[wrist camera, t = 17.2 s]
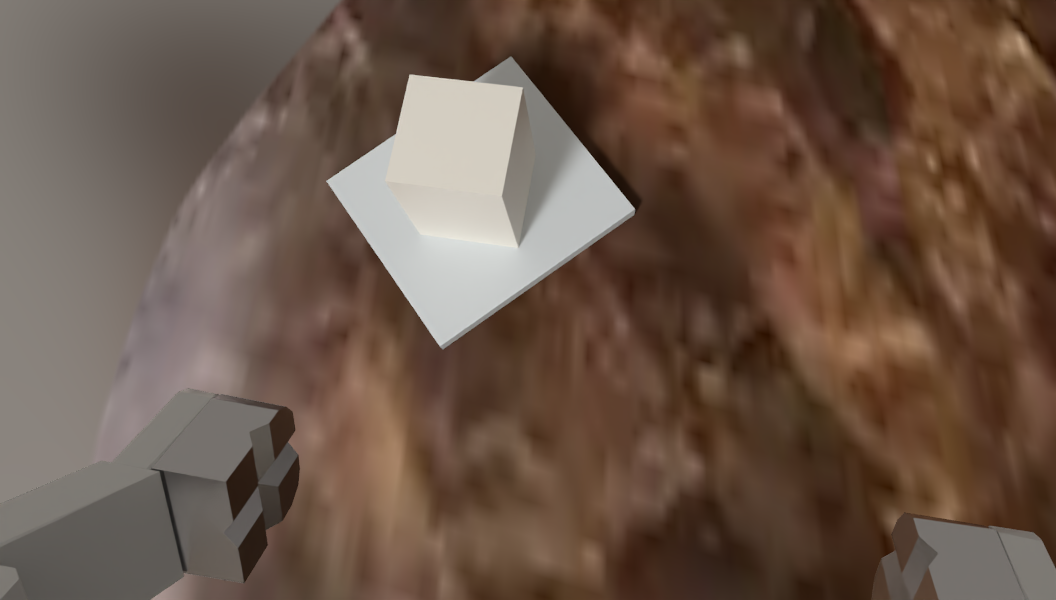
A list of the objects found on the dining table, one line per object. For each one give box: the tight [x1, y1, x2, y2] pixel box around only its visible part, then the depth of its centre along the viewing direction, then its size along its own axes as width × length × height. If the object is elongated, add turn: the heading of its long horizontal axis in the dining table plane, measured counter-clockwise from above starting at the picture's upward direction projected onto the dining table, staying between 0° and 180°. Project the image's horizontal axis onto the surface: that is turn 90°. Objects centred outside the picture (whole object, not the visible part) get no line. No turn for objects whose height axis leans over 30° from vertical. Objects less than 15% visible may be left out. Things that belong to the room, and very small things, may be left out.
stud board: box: [327, 57, 635, 349], centre depth 43 cm, size 13×12×6 cm
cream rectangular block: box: [385, 75, 536, 248], centre depth 42 cm, size 6×6×8 cm
